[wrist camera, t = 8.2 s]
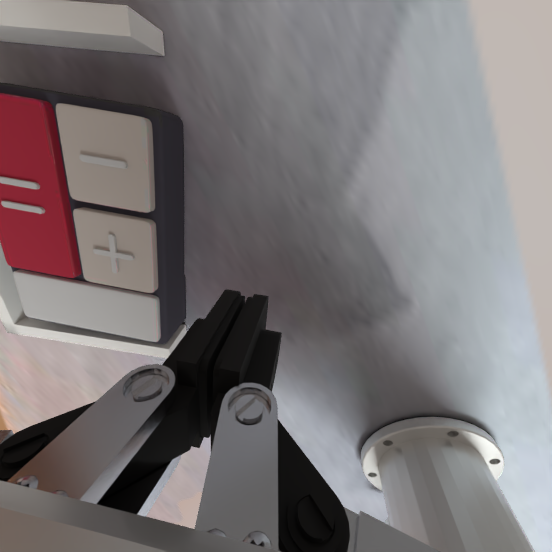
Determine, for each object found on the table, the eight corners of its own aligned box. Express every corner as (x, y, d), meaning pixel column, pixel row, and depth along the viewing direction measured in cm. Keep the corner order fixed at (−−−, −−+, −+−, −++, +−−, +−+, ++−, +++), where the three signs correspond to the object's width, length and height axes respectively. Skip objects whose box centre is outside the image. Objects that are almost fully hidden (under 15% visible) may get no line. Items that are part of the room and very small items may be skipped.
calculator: (153, 105, 12) (162, 353, 19) (190, 118, 16) (187, 319, 23) (-67, 69, 13) (14, 324, 19) (21, 90, 17) (64, 296, 23)
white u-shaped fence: (186, 333, 23) (170, 359, 20) (41, 311, 24) (6, 332, 21) (162, 31, 14) (126, 5, 11) (-75, 11, 14) (-161, -18, 12)
